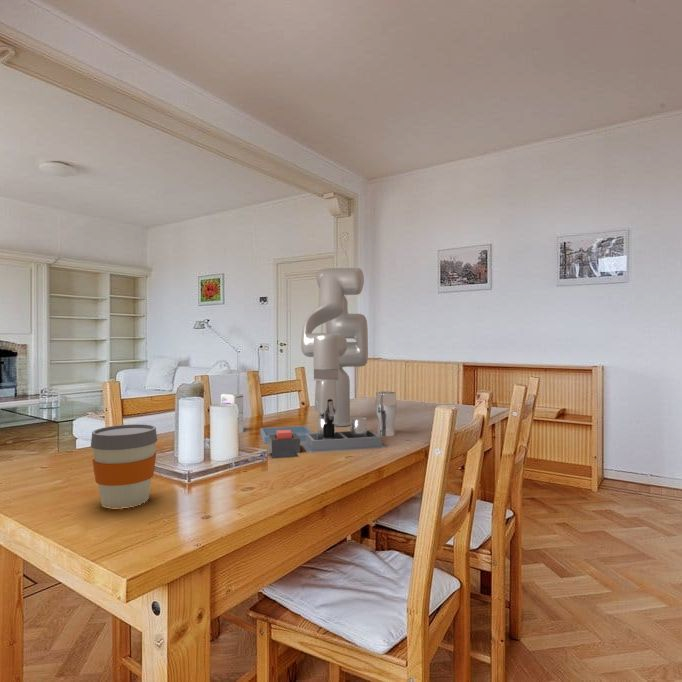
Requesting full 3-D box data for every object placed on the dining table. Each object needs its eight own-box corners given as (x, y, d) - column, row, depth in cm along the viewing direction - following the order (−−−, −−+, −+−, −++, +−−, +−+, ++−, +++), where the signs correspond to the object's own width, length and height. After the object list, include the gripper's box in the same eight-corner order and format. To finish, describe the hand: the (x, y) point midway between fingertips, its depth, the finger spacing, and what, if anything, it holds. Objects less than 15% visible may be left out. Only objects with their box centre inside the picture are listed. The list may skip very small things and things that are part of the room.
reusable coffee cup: (89, 516, 92) (88, 438, 92) (93, 496, 104) (92, 426, 104) (159, 507, 97) (158, 432, 97) (156, 489, 109) (155, 422, 109)
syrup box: (220, 437, 165) (219, 394, 164) (230, 433, 170) (229, 392, 170) (234, 438, 162) (233, 395, 162) (244, 434, 168) (243, 393, 168)
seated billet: (348, 442, 150) (348, 417, 150) (364, 441, 151) (364, 416, 151) (353, 446, 145) (352, 419, 145) (369, 445, 146) (368, 418, 146)
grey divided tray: (300, 446, 150) (300, 433, 150) (374, 441, 156) (374, 429, 156) (307, 456, 138) (307, 442, 137) (387, 450, 143) (387, 437, 143)
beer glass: (396, 435, 166) (396, 391, 166) (396, 439, 159) (396, 393, 159) (375, 434, 166) (375, 391, 166) (375, 439, 160) (375, 393, 159)
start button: (276, 440, 142) (276, 430, 142) (290, 439, 143) (290, 429, 143) (278, 443, 138) (277, 433, 138) (292, 442, 139) (291, 432, 139)
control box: (269, 451, 143) (268, 434, 143) (295, 449, 145) (295, 433, 145) (271, 458, 136) (271, 440, 136) (300, 456, 138) (300, 438, 137)
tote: (260, 436, 164) (260, 428, 164) (305, 434, 168) (305, 425, 168) (264, 447, 149) (264, 437, 149) (314, 444, 153) (314, 434, 153)
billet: (316, 442, 147) (316, 416, 147) (332, 441, 149) (332, 415, 149) (319, 446, 143) (319, 419, 143) (336, 445, 144) (336, 418, 144)
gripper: (308, 373, 153) (309, 430, 153) (319, 378, 136) (320, 442, 136) (332, 372, 155) (332, 429, 155) (345, 377, 138) (345, 440, 138)
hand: (326, 434), depth 146 cm, fingers open, 5 cm apart
